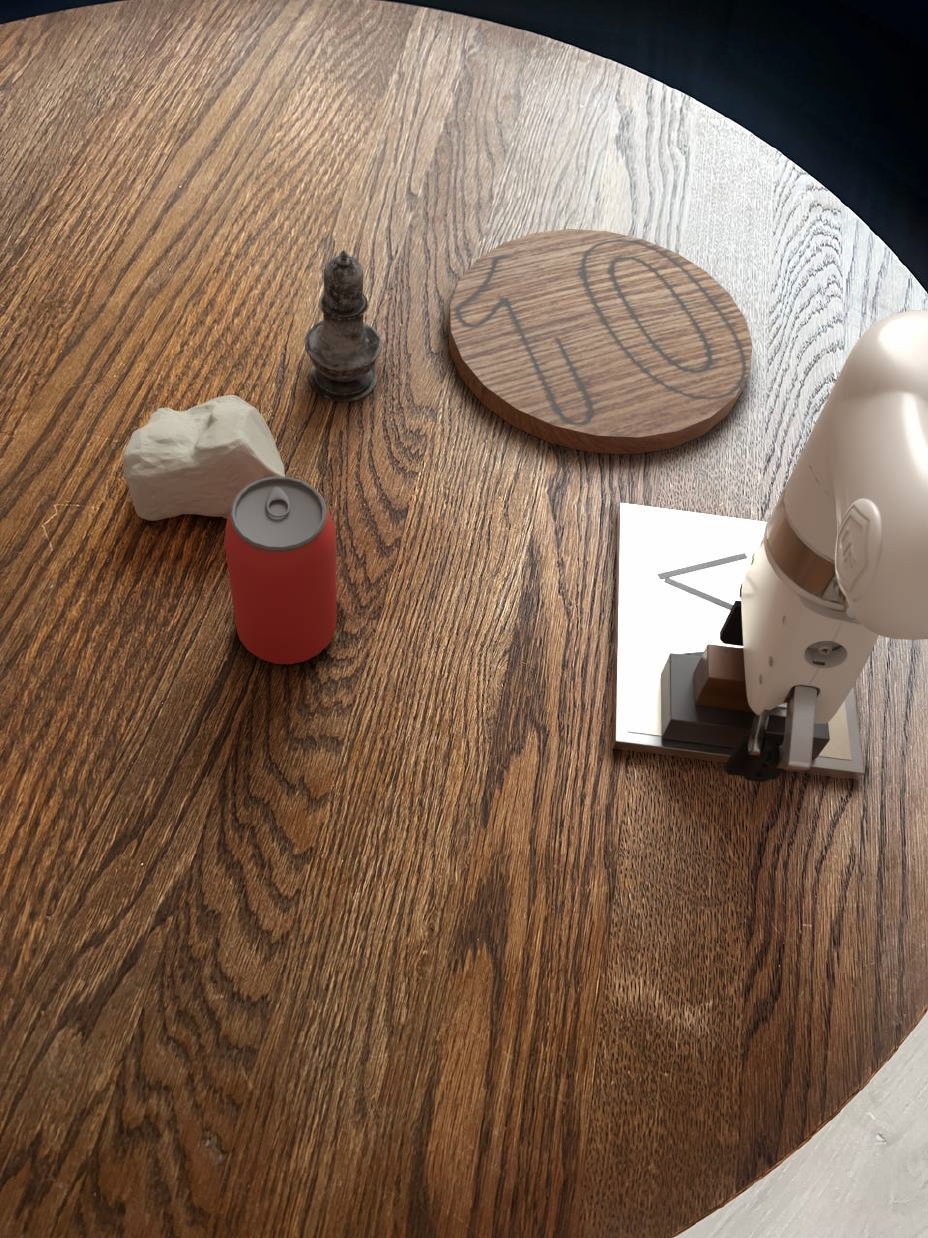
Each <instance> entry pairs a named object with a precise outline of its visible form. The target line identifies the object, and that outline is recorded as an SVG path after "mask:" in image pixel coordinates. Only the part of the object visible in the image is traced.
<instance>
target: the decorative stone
mask: <svg viewBox="0 0 928 1238" xmlns="http://www.w3.org/2000/svg"><path fill="white" fill-rule="evenodd" d="M285 468H286V467H285V464H284V462H283V460H282V458H281V455H280V452H279V450H278V447H277V444H276V441H275V438H274V436H273V434H272V431H271V430H270V428H269V426H268V424H267V422H266V420H265V418H264V417H263V416H262V414H261V413H260V411H259V409H257V408H256V407H255V406H252V405H251V404H250V403H248V402H247V401H245V400H243V399H242V398H241V397H240V396H238V395H235V394H229V395H228V394H227V395H222V396H217V397H214V398H212V399H210V400H208V401H207V400H206V401H205V402H203V403H201V404H198V405H194V406H193V407H190V408H188V409H186V410H182V411H181V410H180V411H179V410H175V409H172V408H170V407H159V408H158V409H157V408H156V409H155V410H154V411H153V412H152V413H151V415H149V420H148V422H147V423H146V424H145V425H144V426H142V427H140V428H138V429H136V430H134V431H133V432H132V434H131V436H130V439H129V441H128V442H127V445H126V447H125V448H124V451H123V455H122V470H123V478H124V481H125V482H126V483H127V487H128V492H129V495H130V498H131V501H132V503H133V507H134V508H133V509H134V510H135V513H136V515H137V516H138V517H139V518H140V519H144V520H146V521H152V522H153V521H160V520H164V519H172V518H176V517H178V516H181V515H197V516H204V517H212V518H213V517H214V518H215V517H216V518H217V517H218V518H220V517H221V518H223V519H226V520H228V517H229V515H230V512H231V504H232V503H233V501H234V499H235V497H236V496H237V494H238V493H239V492H240V491H241V490H242V489H244V488H245V487H246V486H247V485H249V484H251V483H253V482H255V481H257V480H259V479H263V478H268V477H273V476H281V477H286V474H285V472H286V471H285Z"/></svg>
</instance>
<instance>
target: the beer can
mask: <svg viewBox="0 0 928 1238" xmlns="http://www.w3.org/2000/svg"><path fill="white" fill-rule="evenodd" d="M223 542H224V549H225V550H224V551H225V556H226V564H227V571H228V577H229V578H228V579H229V586H230V593H231V602H232V608H233V615H234V623H235V628H236V631H237V636H238V639H239V641H240V642H241V643H242V645H243V646H244V647H245V649H246V650H247V651H248V652H249V653H251V654H252V655H254V656H255V657H256V658H258V659H260V660H262V661H265V662H268V663H270V664H271V663H272V664H275V665H294V664H298V663H303V662H307V661H308V660H310V659H312V658H314V657H316V656H318V655H319V654H320V653H322V652H323V650H325V648H326V647H327V646H329V644H331V641H332V639H333V637H334V635H335V633H336V631H337V530H336V527H335V525H334V521H333V518H332V516H331V513H330V511H329V509H328V506H327V505H326V501H325V499H324V497H323V495H322V494H321V493H320V492H319V491H318V489H316V487H314V486H312V485H311V484H309V482H306V481H304V480H302V479H298V478H295V477H293V476H285V477H281V476H273V477H268V478H263V479H259V480H257V481H255V482H253V483H251V484H249V485H247V486H246V487H245V488H244V489H242V490H241V491H240V492H239V493H238V494H237V496H236V497H235V499H234V501H233V503H232V504H231V512H230V515H229V517H228V519H226V524H225V531H224V539H223Z"/></svg>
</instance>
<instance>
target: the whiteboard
mask: <svg viewBox="0 0 928 1238" xmlns="http://www.w3.org/2000/svg"><path fill="white" fill-rule="evenodd" d="M616 522H617V525H616V562H615V564H616V567H615V570H616V571H615V609H614V610H615V611H614V612H615V613H614V614H615V615H614V657H613V658H614V660H613V662H614V663H613V700H612V701H613V703H612V704H613V707H612V746H611V748H612V749H614V750H621V751H629V752H637V753H645V754H653V755H659V756H660V755H661V756H668V757H674V758H675V757H676V758H684V759H692V760H699V761H708V762H715V763H722V764H723V763H724V764H726V762H727V761H728V759H729V757H730V756H731V754H732V752H733V751H734V749H735V748H731V747H724V746H716V745H708V744H700V743H693V742H685V741H677V740H669V739H662V733H661V672H662V670H663V668H664V666H665V663H666V661H667V659H668V656H669V654H670V653H676V654H684V655H691V656H699V657H701V656H702V654H703V652H704V650H705V648H706V646H707V644H713V645H721V646H729V647H736V648H743V646H737V645H730V644H724V643H722V641H720V631H721V629H722V627H723V625H724V623H725V621H726V619H727V617H728V615H729V613H730V610H731V608H732V606H733V604H734V602H735V600H737V601H741V600H740V598H739V589H740V585H741V582H742V581H744V577H745V575H746V572H747V569H748V567H749V565H750V562H751V560H752V555H753V554H754V553H755V551H756V550H757V548H758V547H759V545H760V543H761V541H762V537H763V534H764V530H765V526H766V522H767V521H763V520H755V519H747V518H740V517H732V516H726V515H719V514H709V513H701V512H694V511H688V510H687V511H686V510H680V509H672V508H665V507H658V506H657V507H656V506H649V505H641V504H635V503H626V502H620V503H619V505H618V509H617V519H616ZM859 725H860V724H859V716H858V709H857V701H856V692H855V685H854V686H853V687H852V689H851V691H850V692H849V694H848V696H847V697H846V699H845V701H844V702H843V704H842V705H841V707H840V708H839V710H838V711H837V713H836V714H835V716H834V717H833V718H832V719H831V720H830V721H829V722H828V726H829V736H830V741H829V742H828V743H827V745H826V746H825V747H824V749H823V750H822V751H821V753H820V754H819V755H818V757H817V758H812V759H811V765H810V768H809V770H798V771H796V770H789V769H784V770H783V771H785V772H792V773H793V772H794V773H800V774H801V773H802V774H810V775H816V776H817V775H818V776H824V777H833V778H838V779H848V780H855V781H859V780H860V779H861V778H862V777H863V776H864V774H865V767H864V766H865V765H864V758H863V749H862V741H861V733H860V727H859Z"/></svg>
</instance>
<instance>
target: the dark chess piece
mask: <svg viewBox="0 0 928 1238" xmlns="http://www.w3.org/2000/svg"><path fill="white" fill-rule="evenodd" d="M318 307H319V309H320V311H321V313H323V314H322V315H323V317H322V318H323V319H322V320H321V321H319V322H317V323H316V324H314V325H312V326H311V328H310V329H309V330H308V331H307V333H306V335H305V337H304V349H305V351H306V354H307V356H308V357H309V359H310V361H311V363H312V366H311V369H310V371H309V383H310V385H311V388H312V389H313V390H314V391H315V392H316V393H317V394H318V395H320V396H321V397H322V398H325V399H328V400H329V401H335V402H339V403H341V402H342V403H343V402H344V403H348V402H356V401H358V400H361V399H364V398H365V397H367V396H368V395H369V394H371V393H372V392H373V390H374V389H375V388H376V385H377V382H378V379H377V378H378V374H377V373H376V369H375V368H374V366H375V364H376V361H377V359H378V358H379V357H380V355H381V352H382V349H383V341H382V338H381V335H380V334H379V332H378V331H377V330H376V329H375V327H373V326H371V325H370V324H368V323H367V322H365V321H364V314H365V313H366V312H367V311H368V308H369V301H368V298H367V296H366V295H365V294H364V267H363V266H362V264H361V263H360V261H359V260H358V259H356V258H355V257H353V256H349V253H348V252H347V251H346V250H342V251H340V253H339V254H338V255H337V256H335V257H333V258H331V259H330V260H328V261H327V262H326V264H325V266H324V269H323V294H321V296H320V297H319V300H318Z"/></svg>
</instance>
